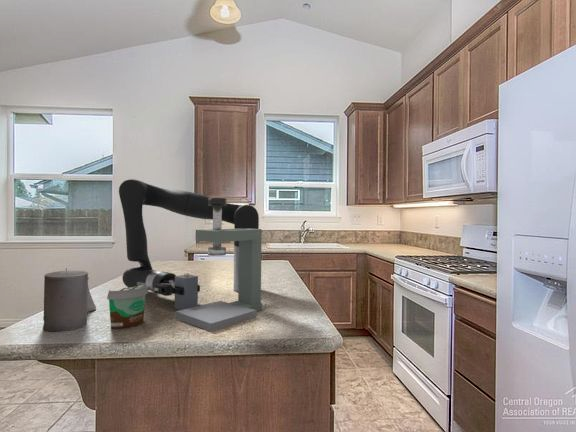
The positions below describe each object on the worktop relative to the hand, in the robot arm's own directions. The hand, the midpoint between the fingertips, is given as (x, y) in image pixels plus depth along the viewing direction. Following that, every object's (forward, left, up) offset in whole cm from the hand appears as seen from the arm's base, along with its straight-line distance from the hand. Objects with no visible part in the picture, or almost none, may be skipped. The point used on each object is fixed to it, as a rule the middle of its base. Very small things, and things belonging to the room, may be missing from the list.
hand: (191, 290), depth 104 cm
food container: (+18, 0, -6) cm, 19 cm away
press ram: (0, +12, +12) cm, 17 cm away
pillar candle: (+30, -12, -6) cm, 33 cm away
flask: (+22, -24, -6) cm, 33 cm away
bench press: (-3, +12, -6) cm, 14 cm away
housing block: (0, -3, -6) cm, 7 cm away
